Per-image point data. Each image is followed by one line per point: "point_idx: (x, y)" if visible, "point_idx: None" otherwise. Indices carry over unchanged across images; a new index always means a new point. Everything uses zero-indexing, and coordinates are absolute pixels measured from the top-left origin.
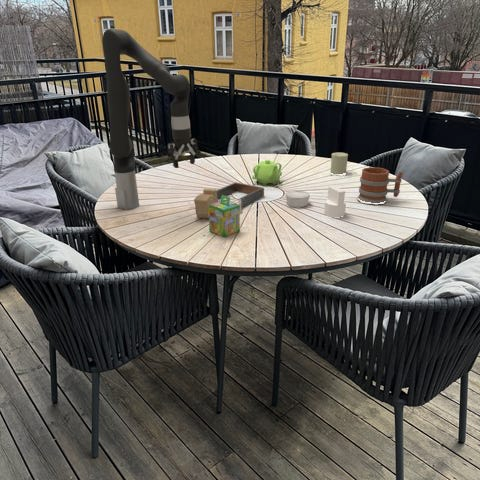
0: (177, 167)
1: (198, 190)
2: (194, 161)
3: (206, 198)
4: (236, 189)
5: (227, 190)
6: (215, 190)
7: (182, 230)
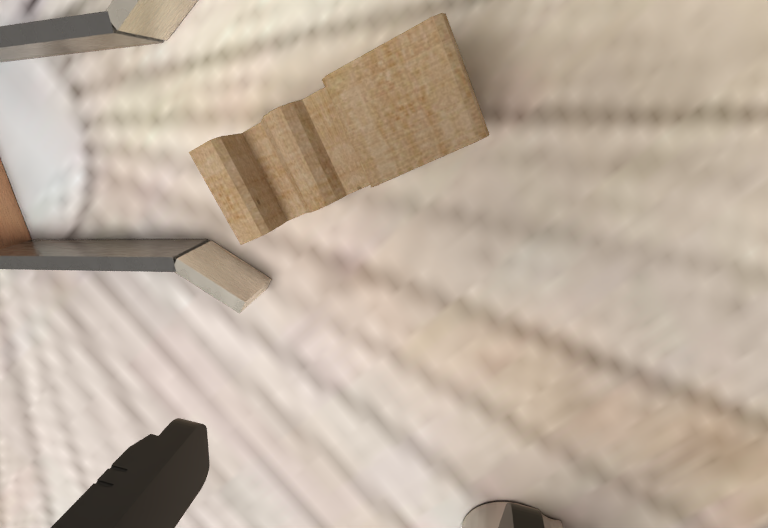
0: (536, 513)
1: (161, 399)
2: (144, 445)
3: (404, 50)
4: (18, 241)
5: (70, 248)
6: (209, 141)
7: (676, 70)
